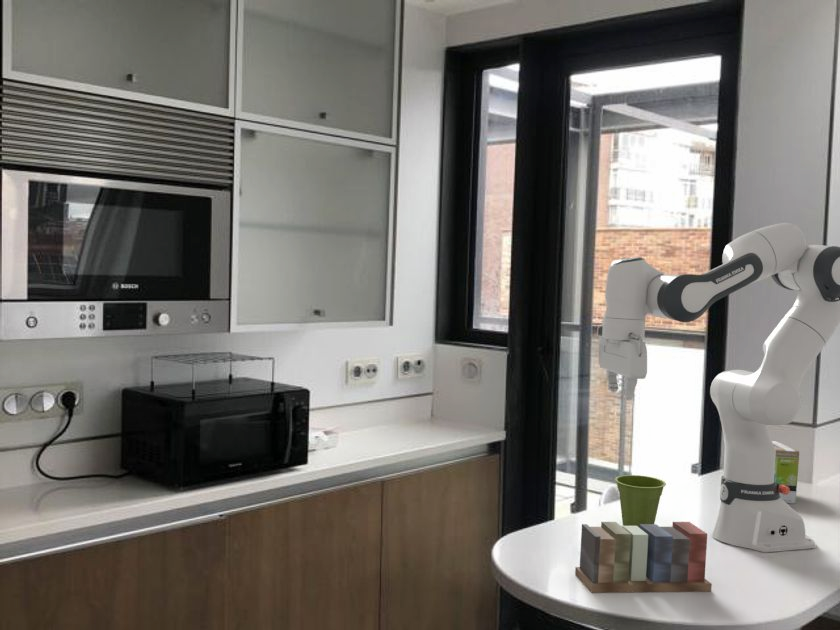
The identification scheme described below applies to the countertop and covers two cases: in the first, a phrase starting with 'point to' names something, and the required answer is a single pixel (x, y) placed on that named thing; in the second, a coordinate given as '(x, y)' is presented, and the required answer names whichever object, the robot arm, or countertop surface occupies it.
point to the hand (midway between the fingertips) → (620, 394)
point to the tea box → (786, 470)
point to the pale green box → (637, 553)
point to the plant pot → (639, 498)
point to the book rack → (666, 559)
